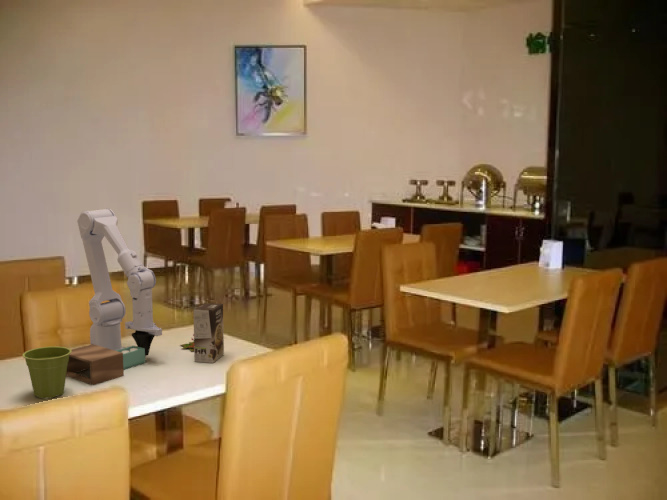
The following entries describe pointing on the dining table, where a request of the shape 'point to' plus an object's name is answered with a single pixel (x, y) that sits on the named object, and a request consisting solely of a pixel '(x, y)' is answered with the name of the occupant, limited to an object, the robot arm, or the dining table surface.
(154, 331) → the robot arm
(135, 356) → the tray
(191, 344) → the red green leafy plant
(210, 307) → the coffee box
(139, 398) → the dining table surface
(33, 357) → the plant pot
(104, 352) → the wooden crate box
